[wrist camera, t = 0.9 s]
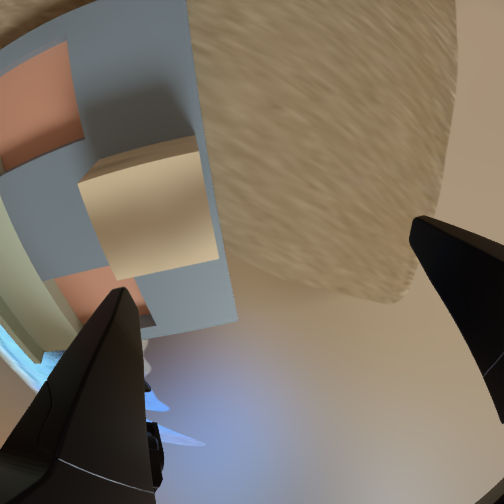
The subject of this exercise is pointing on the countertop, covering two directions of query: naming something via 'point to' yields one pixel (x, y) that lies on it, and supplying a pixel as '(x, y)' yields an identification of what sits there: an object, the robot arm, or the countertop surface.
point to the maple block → (150, 208)
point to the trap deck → (83, 158)
